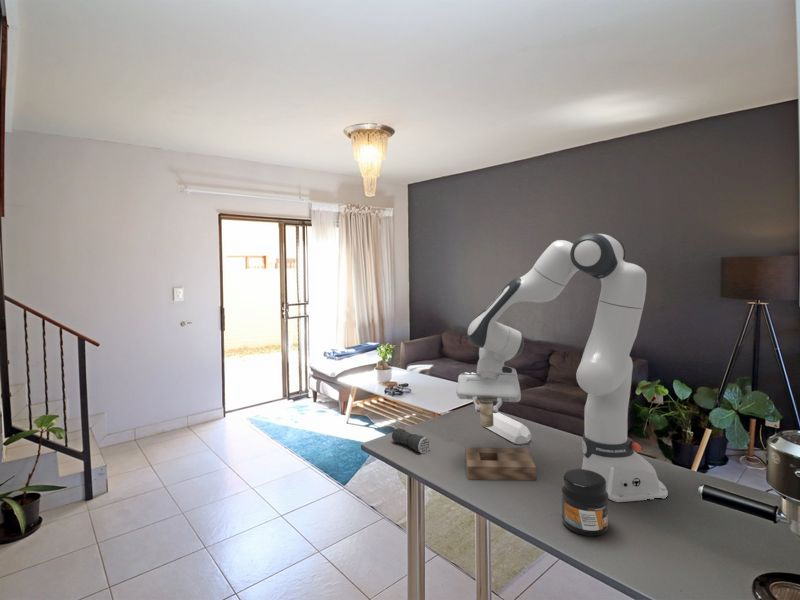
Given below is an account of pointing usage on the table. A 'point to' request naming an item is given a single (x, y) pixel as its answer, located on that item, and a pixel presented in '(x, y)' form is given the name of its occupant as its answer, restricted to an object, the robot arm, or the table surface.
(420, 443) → the flashlight
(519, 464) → the socket block
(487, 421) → the beech pin
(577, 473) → the supplement container
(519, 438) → the white faceted prism
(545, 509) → the table surface
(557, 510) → the table surface
